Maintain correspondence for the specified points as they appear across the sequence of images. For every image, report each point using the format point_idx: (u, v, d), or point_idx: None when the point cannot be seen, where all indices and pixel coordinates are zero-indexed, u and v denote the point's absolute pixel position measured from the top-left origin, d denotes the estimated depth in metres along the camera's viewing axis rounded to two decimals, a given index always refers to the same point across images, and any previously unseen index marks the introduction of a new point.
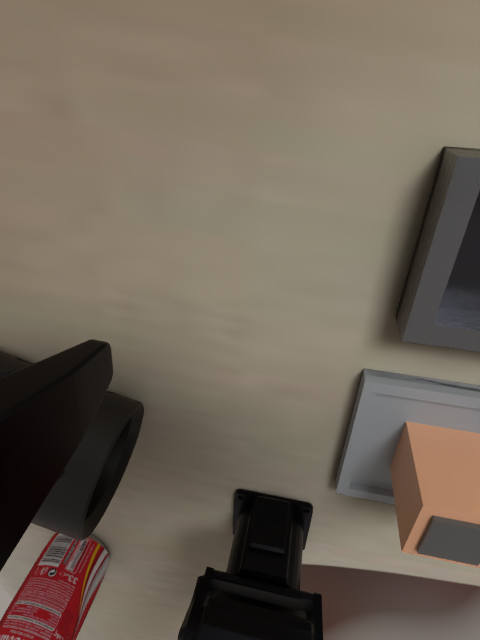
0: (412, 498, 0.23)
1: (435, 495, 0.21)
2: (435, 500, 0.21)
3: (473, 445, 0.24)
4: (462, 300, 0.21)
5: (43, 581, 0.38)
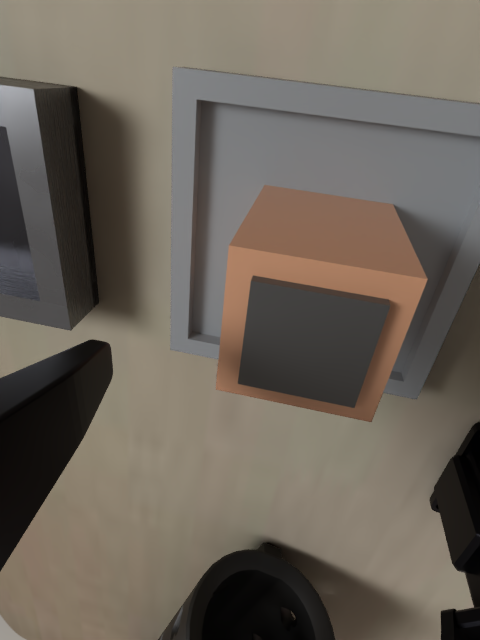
0: None
1: None
2: None
3: None
4: None
5: None
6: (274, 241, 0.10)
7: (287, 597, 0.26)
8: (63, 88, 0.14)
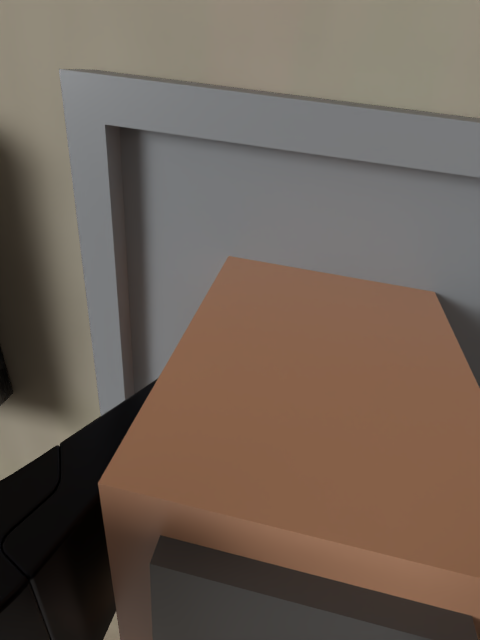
0: None
1: None
2: None
3: None
4: None
5: None
6: (212, 449, 0.05)
7: None
8: None
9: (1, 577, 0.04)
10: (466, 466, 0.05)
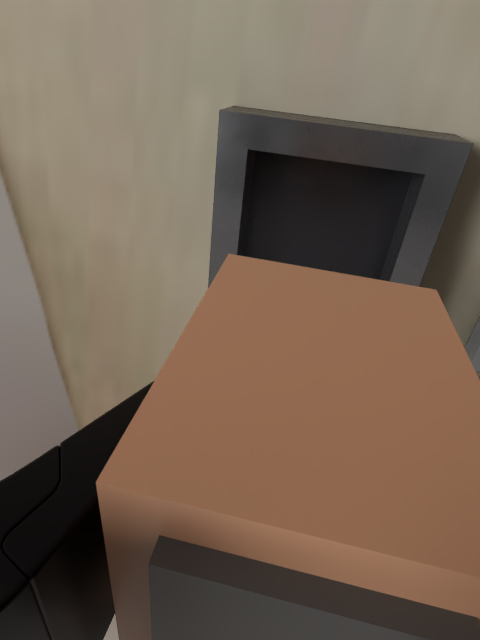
0: None
1: None
2: None
3: None
4: (369, 271, 0.19)
5: None
6: (211, 446, 0.04)
7: None
8: (460, 138, 0.15)
9: (1, 577, 0.04)
10: (470, 465, 0.05)
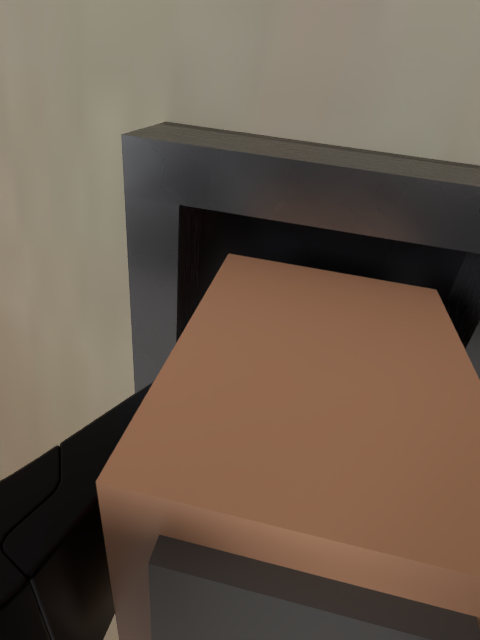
0: None
1: None
2: None
3: None
4: None
5: None
6: (211, 446, 0.04)
7: None
8: None
9: (1, 577, 0.04)
10: (470, 464, 0.05)
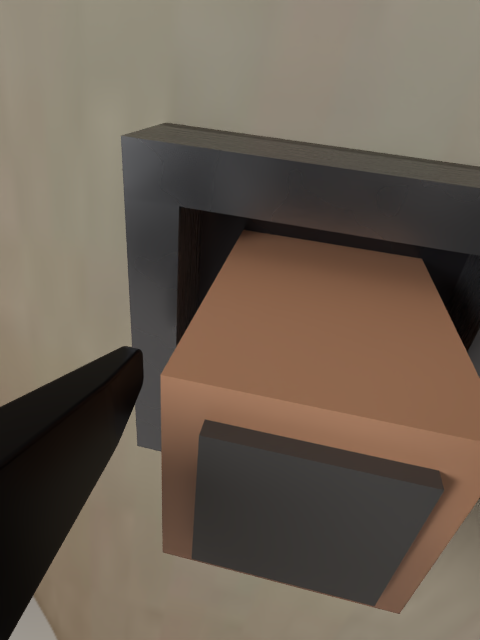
0: None
1: None
2: None
3: None
4: None
5: None
6: (242, 357, 0.06)
7: None
8: None
9: None
10: (438, 373, 0.06)
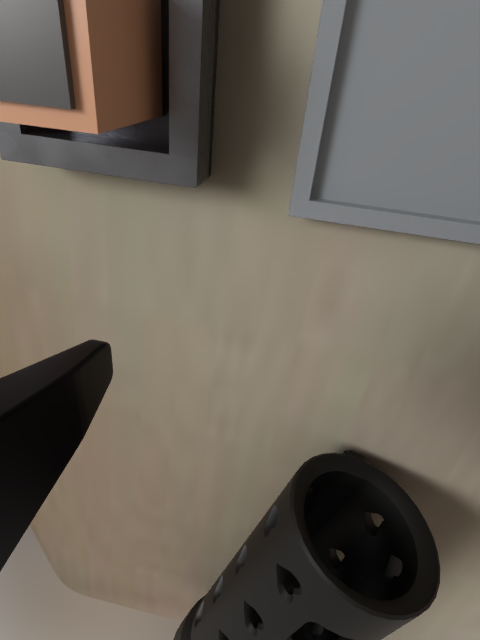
0: None
1: None
2: None
3: None
4: None
5: None
6: None
7: (374, 500, 0.26)
8: None
9: None
10: None
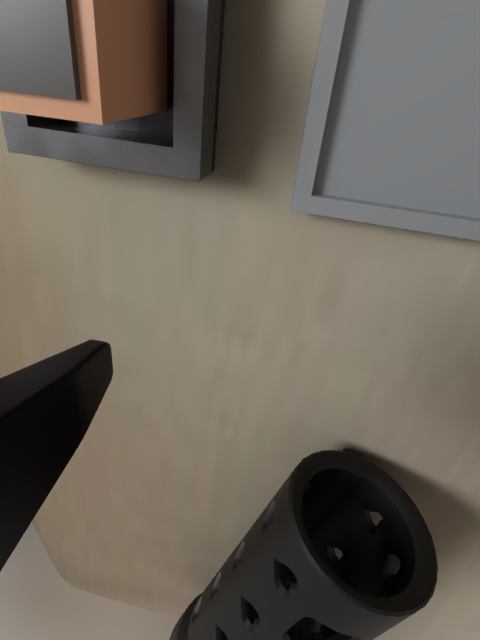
0: None
1: None
2: None
3: None
4: None
5: None
6: None
7: (373, 498, 0.26)
8: None
9: None
10: None
